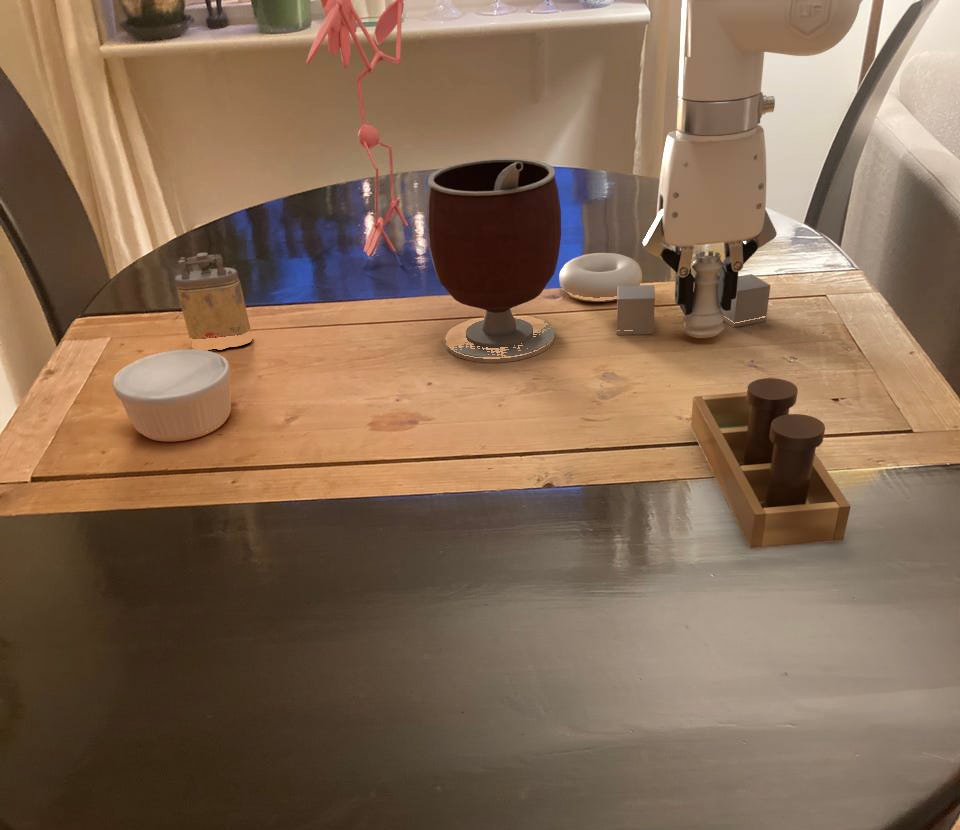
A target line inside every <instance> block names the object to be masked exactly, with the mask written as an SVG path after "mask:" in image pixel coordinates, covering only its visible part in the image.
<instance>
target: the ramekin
mask: <svg viewBox="0 0 960 830" xmlns="http://www.w3.org/2000/svg"><path fill="white" fill-rule="evenodd" d="M231 371H232V370H231V367H230V364H229V361H228V360H227V358H225V357H224V356H222V355H221V354H219V353H216V352H214V351H212V350H211V351H206V350H195V349H192V348H189V349H188V348H187V349H175V350H168V351H163V352H159V353H154V354H151V355H147V356H145V357H141V358H139V359H137V360H135V361H133V362H131V363H129V364H127V365H126V366H124V367H122V368H121V369H120V370H119V371H117V373H116V374H115V375H114V377H113V379H112V387H113V391H114V394H115V396H116V397H117V399H118V400H120V402H121V403H122V405H123V408H124V410H125V412H126V414H127V416H128V418H129V420H130V421H131V423H132V426H133V427H134V428H135V430H136V431H137V432H138V433H139V434H141V435H143V436H144V437H146V438H147V439H150V440H152V441H157V442H166V443H170V442H171V443H175V442H184V441H189V440H194V439H198V438H200V437H204V436H206V435H209V434H211V433H213V432H214V431H216V430H218V429H220V427H222V426H223V425H224V424H225V422H227V420H228V419H229V417H230V415H231V411H232V393H231V392H232V391H231V379H230V378H231V373H232V372H231ZM226 418H227V419H226ZM223 421H224V422H223ZM221 423H222V424H221ZM218 425H219V426H218ZM215 427H216V428H215ZM211 429H212V430H211ZM207 431H208V432H207Z"/></svg>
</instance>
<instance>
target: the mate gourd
mask: <svg viewBox="0 0 960 830" xmlns="http://www.w3.org/2000/svg"><path fill="white" fill-rule="evenodd" d="M427 184H428V188H427V195H426V197H427V198H426V215H425V216H426V219H425V223H426V227H427V228H426V234H427V244H428V249H429V253H430V258H431V262H432V266H433V268H434V272H435V275H436V277H437V280H438V282H439V283H440V285H442V287H443V288H444V289H445V290H446V291H447V292H448V294H449V295H450V296H451V297H452V299H454V301H456V302H457V303H460V304H462V305H464V306H468V307H472V308H475V309H481V310H483V311H485V313H484V315H485V316H484V320H482V321H479V322H476V323H474V324H472V325H471V326H469V327H468V328H467V330H466V338H467V340H468V341H469V342H471V343H473V344H474V345H472V346H475V347H472V348H475V349H471V348H470V345H467V346H469V347H467V348H466V344H464V345H462V346H464V347H462V348H459V347H458V345H457V346H454V347H457V348H454V350H455V349H457V350H455V351H457V352H460V353H462V354H464V355H469V356H474V357H502V356H501V355H499V356H497V353H496V352H494V353H491V350H486V349H484V350H483V349H482V347H483V348H486V347H488V348H499V349H500V347H508V348H505V349H509V350H506V351H503V352H507V353H504V354H503V355H506V356H515V355H520V354H525V353H529V352H532V353H529V354H526V355H522V356H517V357H511V358H500V359H483V358H474V357H469V356H464V355H462V354H459V353H456V352H454V351H453V350H451V349H450V348H449V347H448V346H447V345H446V343H445V342H444V344H445V345H444V346H445V349H446V350H447V351H448V352H449V353H450V354H451V355H452V356H455V357H456V358H459V359H461V360H462V359H463V360H465V361H470V362H475V363H484V364H485V363H487V364H491V363H492V364H499V363H510V362H516V361H521V360H526V359H529V358H532V357H535V356H537V355H540V354H541V353H544V352H545V351H547V350H548V349H549V348H551V347H552V345H553V344H554V342H555V338H556V336H555V335H556V334H555V335H554V333H555V328H554V327H553V326H552V327H550V326H551V325H552V323H550V322H548V324H549V325H546V327H544V328H543V329H546V330H547V331H544V333H542V330H543V329H541V332H540V333H534V334H537V335H533V327H532V325H531V324H530V323H528V322H526V321H524V320H521V319H516V318H514V317H513V315H512V313H513V312H512V311H511V309H513V308H514V307H515V308H516V307H518V306H521V305H523V304H525V303H529V302H530V301H533V300H534V299H536V298H537V297H539V296H540V295H541V294H542V292H543V291H544V290H545V288H546V286H547V285H548V284H549V282H551V279H552V278H553V277H554V275H555V272H556V270H557V269H556V268H557V265H558V260H559V255H560V246H561V240H562V209H561V202H560V195H559V189H558V184H557V180H556V170H555V168H554V167H553V166H552V165H551V164H548V163H546V162H543V161H539V160H533V159H529V158H528V159H527V158H513V157H511V158H509V157H502V158H486V159H483V158H482V159H475V160H470V161H464V162H459V163H455V164H451V165H447V166H445V167H442V168H439V169H438V170H435V171H434V172H432V173H431V174H430V175H428V178H427ZM544 323H546V322H544ZM547 328H550V329H547ZM538 332H539V331H538ZM539 334H540V335H539ZM533 336H536V337H533ZM553 337H554V338H553ZM552 339H553V340H552ZM551 340H552V341H551ZM550 341H551V342H550ZM549 342H550V343H549ZM465 343H466V342H465ZM521 343H522V344H521ZM548 343H549V344H548ZM547 344H548V345H547ZM514 345H515V346H514ZM518 345H523V346H519V347H520V349H517V348H518ZM545 345H546V346H545ZM477 346H480V347H478V348H480V349H478V348H477ZM543 346H545V347H543ZM513 347H516V348H513ZM541 347H543V348H541ZM527 348H528V349H527ZM539 348H541V349H539ZM460 349H462V350H460ZM538 349H539V350H538ZM518 350H521V351H518ZM534 350H538V351H535V352H533V351H534ZM487 351H490V352H487ZM493 351H495V350H493ZM499 351H500V350H499ZM488 354H489V355H488ZM492 354H495V355H492ZM498 354H501V352H500V353H498ZM503 357H504V356H503Z"/></svg>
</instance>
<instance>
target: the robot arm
mask: <svg viewBox="0 0 960 830" xmlns="http://www.w3.org/2000/svg"><path fill="white" fill-rule="evenodd" d="M863 1H864V0H681V20H680V40H679V41H680V42H679V43H680V45H679V63H678V64H679V65H678V85H677V86H678V88H677V108H676V129H675V130H672V131H669V132H668V133H667V135H666V139H665V142H664V143H665V145H664V149H663V155H662V158H661V159H662V160H661V168H660V175H659V183H658V191H657V192H658V194H657V202H656V203H657V204H656V217H655V219H654V221H653V223H652V224H651V227H650V228H649V230H648V232H647V234H646V236H645V237H644V239H643V240H642V247H643V249H644V251H645V252H646V253H648V254H650V255H652V256H654V257H656V258H658V259H660V260H662V261H664V262H665V263H666V264H667V265H668V266H669V267H670V268H671V269H672V270H673V271H674V272H675V284H674V303H675V305H676V306H679V308H680V309H681V311H682V313H683V315H690V313H692V308H693V292H694V277H695V276H693V274H692V262H693V261H692V260H693V255H694V251H695V250H694V249H695V246H702V245H703V246H704V245H712V244H713V245H714V244H723V248H724V249H723V251H724V259H723V261H722V262H723V264H724V265H723V266H722V268H721V269H720V270H719V273H718V276H719V277H720V281H719V282H718V302H719V305H720V306H721V308H722V309H723V310H725V311H730V310H731V301H732V299H735V298H736V294H737V282H738V277H739V272H740V271H742V270H743V268H744V265H745V263H746V262H747V261H748V260H749V259H750V258H751V257H752V256H753V255H754V254H755V253H756V252H757V251H758V249H760V248H762V247H764V246H765V245H766V244H768V243H770V242H771V241H773V240H774V239H776V236H777V235H778V234H777V230H776V228H775V226H774V223H773V221H772V220H771V217H770V215H769V213H768V211H767V209H766V205H767V151H766V150H767V149H766V140H765V139H766V138H765V129H764V128H763V127H762V125H760V124H761V119H762V117H763V116H764V115H767V114H769V113H774V110H775V106H776V100H775V97H774V96H773V95H771V96H767V95H766V94H765V95H764V92H762V81H763V73H764V72H763V71H764V59H765V53H771V54H778V55H785V56H786V55H787V56H793V57H811V56H816V55H817V56H818V55H820V54H822V53H825V52H827V51H829V50H831V49H833V48H834V47H836V46H837V45H839V43H840V42H841V41H842V40H843V39H844V38H845V37H846V36H847V34H848V33H849V32H850V30H852V27H853V25H854V23H855V22H856V19H857V16H858V14H859V10H860V6H861V4H862V2H863ZM663 238H664V242H665V243H666V244H664V243H663V242H662V239H663ZM671 246H672V247H674V249H673V248H671Z"/></svg>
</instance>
